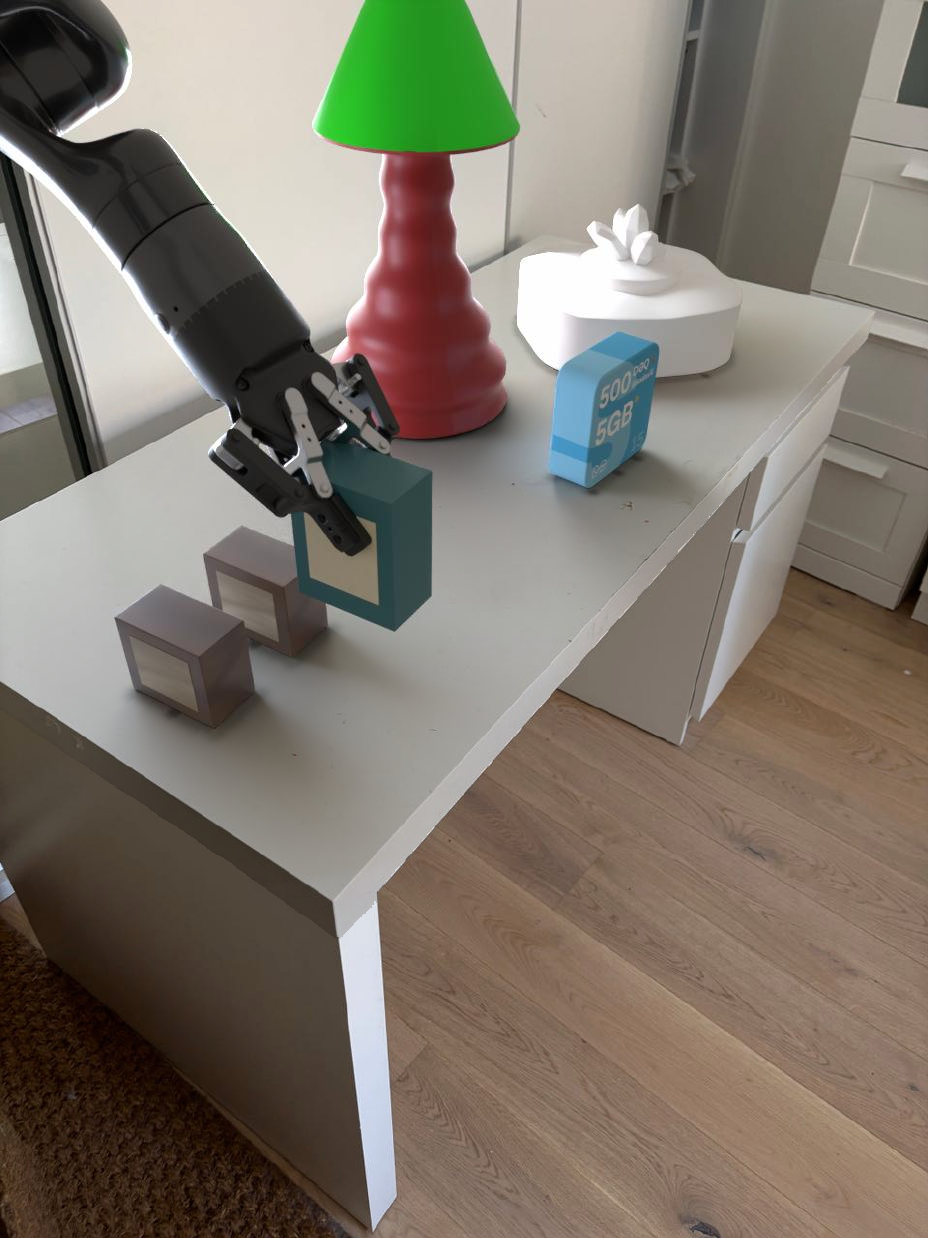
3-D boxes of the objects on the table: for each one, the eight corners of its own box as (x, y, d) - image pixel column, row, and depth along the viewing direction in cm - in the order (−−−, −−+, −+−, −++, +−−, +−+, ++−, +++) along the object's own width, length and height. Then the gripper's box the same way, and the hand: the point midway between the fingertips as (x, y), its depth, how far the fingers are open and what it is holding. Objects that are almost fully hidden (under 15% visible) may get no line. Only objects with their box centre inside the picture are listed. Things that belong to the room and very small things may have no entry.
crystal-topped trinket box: (558, 386, 112) (571, 246, 102) (501, 304, 131) (507, 178, 120) (754, 368, 117) (786, 232, 107) (673, 291, 136) (693, 169, 125)
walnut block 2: (292, 658, 76) (283, 588, 71) (214, 623, 79) (201, 553, 74) (328, 625, 79) (322, 556, 74) (252, 593, 82) (241, 524, 77)
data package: (584, 494, 95) (597, 380, 87) (546, 478, 97) (556, 366, 89) (645, 446, 102) (662, 338, 94) (609, 433, 104) (622, 326, 96)
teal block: (394, 632, 64) (391, 504, 57) (298, 592, 67) (284, 466, 60) (432, 595, 67) (432, 470, 60) (338, 558, 70) (329, 435, 63)
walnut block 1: (213, 729, 70) (198, 657, 65) (133, 688, 73) (113, 617, 68) (256, 691, 73) (244, 620, 68) (176, 653, 76) (160, 582, 71)
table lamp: (366, 457, 99) (339, -83, 70) (309, 376, 113) (266, -103, 84) (537, 422, 106) (576, -86, 77) (463, 350, 119) (473, -104, 91)
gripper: (157, 310, 52) (352, 565, 55) (321, 237, 61) (479, 457, 64) (106, 378, 57) (287, 606, 60) (264, 301, 66) (412, 501, 70)
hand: (385, 528), depth 62 cm, fingers closed on teal block, 4 cm apart
